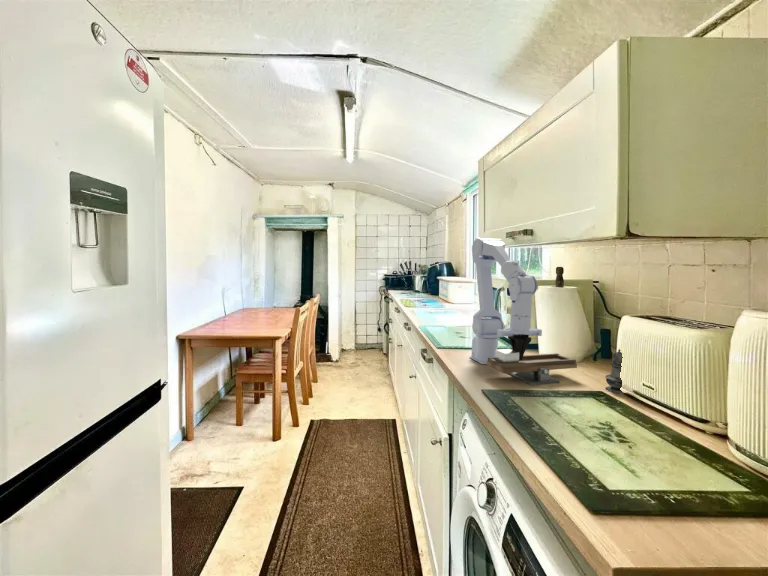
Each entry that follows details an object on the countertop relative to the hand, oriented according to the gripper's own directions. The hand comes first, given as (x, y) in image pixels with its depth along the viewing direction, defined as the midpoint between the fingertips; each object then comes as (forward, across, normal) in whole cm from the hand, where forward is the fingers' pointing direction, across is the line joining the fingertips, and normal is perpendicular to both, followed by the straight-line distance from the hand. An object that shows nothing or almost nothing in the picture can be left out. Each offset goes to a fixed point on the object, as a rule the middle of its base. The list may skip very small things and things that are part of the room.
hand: (518, 359), depth 111 cm
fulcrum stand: (+6, +5, 0) cm, 8 cm away
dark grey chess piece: (+6, +22, -15) cm, 27 cm away
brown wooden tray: (+2, +5, 0) cm, 6 cm away
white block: (+1, -4, 0) cm, 4 cm away
